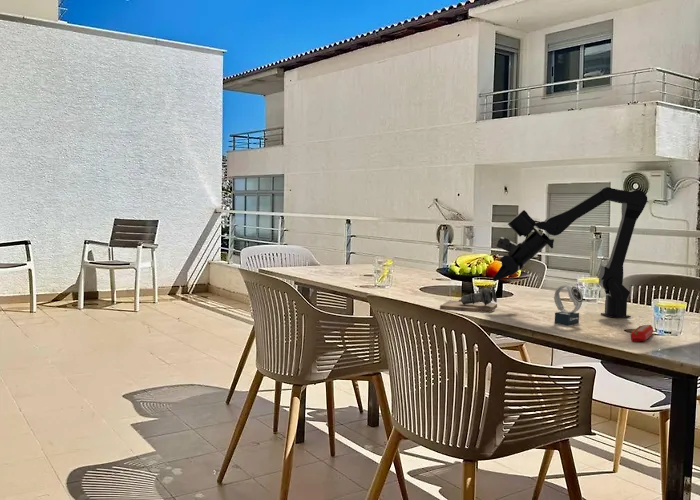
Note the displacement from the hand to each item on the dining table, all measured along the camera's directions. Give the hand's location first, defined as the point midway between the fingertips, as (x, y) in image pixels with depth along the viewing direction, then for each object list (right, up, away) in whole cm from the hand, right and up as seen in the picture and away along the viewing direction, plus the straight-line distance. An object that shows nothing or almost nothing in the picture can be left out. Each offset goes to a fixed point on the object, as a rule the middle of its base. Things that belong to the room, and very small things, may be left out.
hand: (493, 280), depth 214 cm
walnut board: (-7, -9, +3) cm, 12 cm away
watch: (+16, -12, -23) cm, 31 cm away
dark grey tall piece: (+1, -5, 0) cm, 5 cm away
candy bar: (+29, -13, -43) cm, 53 cm away
